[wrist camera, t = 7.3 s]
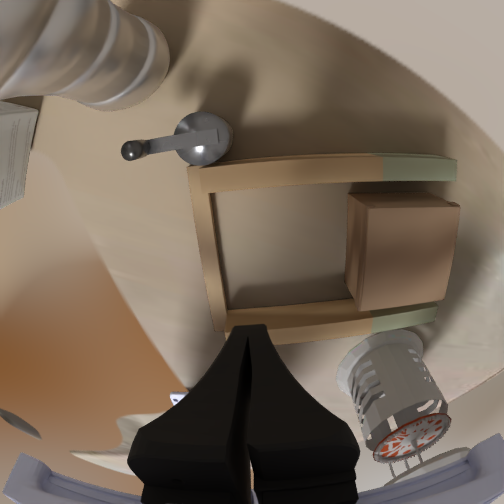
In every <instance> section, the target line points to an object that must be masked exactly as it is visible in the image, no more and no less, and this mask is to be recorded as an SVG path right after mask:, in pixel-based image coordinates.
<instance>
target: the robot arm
mask: <svg viewBox="0 0 504 504" xmlns="http://www.w3.org/2000/svg"><path fill="white" fill-rule="evenodd" d="M170 398H171V400H172V403H173V405H174V406H173V407H172V408H170V409H169V410H168V411H167V412H165V413H164V414H163V415H161V416H160V417H158V418H157V419H155V420H153V421H152V422H150V423H148V424H147V425H145V426H143V427H141V428H139V430H138V432H137V434H136V436H135V438H134V441H133V443H132V446H131V449H130V453H129V456H128V459H127V464H128V466H129V467H130V469H131V470H132V471H133V472H134V473H135V475H136V476H137V477H138V478H139V479H140V480H141V481H142V482H143V483H144V488H143V492H142V496H138V495H132V494H128V493H123V492H118V491H115V490H111V489H107V488H103V487H99V486H96V485H92V484H89V483H86V482H82V481H79V480H76V479H73V478H70V477H67V476H65V475H62V474H59V473H56V472H54V471H51V469H50V468H49V467H48V466H47V465H46V464H45V463H43V462H42V461H40V460H38V459H36V458H34V457H32V456H29V455H27V454H25V453H20V455H19V457H18V459H17V461H16V463H15V465H14V467H13V469H12V471H11V474H10V476H9V478H8V480H7V483H6V485H5V487H4V489H3V494H4V495H6V496H7V497H8V498H10V499H11V500H12V501H14V502H15V503H17V504H490V503H492V502H493V501H494V500H495V499H497V498H498V497H500V496H501V495H502V494H503V493H504V440H503V438H502V436H501V435H500V433H497V434H495V435H494V436H492V437H490V438H488V439H486V440H484V441H482V442H480V443H479V444H477V445H476V446H474V447H473V448H472V449H471V450H470V451H469V453H468V454H467V456H466V457H463V458H461V459H459V460H457V461H455V462H452V463H450V464H448V465H445V466H443V467H440V468H438V469H435V470H433V471H430V472H427V473H425V474H422V475H419V476H416V477H413V478H410V479H407V480H404V481H401V482H398V483H394V484H391V485H387V486H384V487H380V488H376V489H372V490H368V491H364V492H360V493H357V488H356V483H355V480H356V473H355V469H354V468H355V466H356V463H357V461H358V459H359V456H360V449H359V445H358V443H357V440H356V438H355V436H354V434H353V432H352V431H351V429H350V427H349V426H348V424H347V423H346V422H344V421H343V420H341V419H340V418H338V417H337V416H335V415H334V414H332V413H331V412H330V411H328V410H327V409H326V408H325V407H323V406H322V405H321V404H320V403H319V402H317V401H316V400H315V399H314V398H313V397H312V396H311V395H310V394H309V393H308V392H307V391H306V390H305V389H304V388H303V387H302V386H301V385H300V384H299V383H298V381H297V380H296V379H295V378H294V377H293V375H292V374H291V373H290V371H289V370H288V369H287V367H286V366H285V364H284V363H283V361H282V360H281V358H280V356H279V355H278V353H277V351H276V349H275V347H274V345H273V343H272V341H271V339H270V336H269V334H268V330H267V326H266V325H265V324H254V325H239V326H234V327H233V328H232V330H231V332H230V335H229V337H228V339H227V341H226V343H225V344H224V346H223V348H222V350H221V351H220V353H219V355H218V356H217V358H216V359H215V361H214V362H213V364H212V365H211V367H210V368H209V369H208V371H207V372H206V373H205V375H204V376H203V377H202V378H201V380H200V381H199V382H198V383H197V384H196V385H195V386H194V388H193V389H192V390H191V391H190V392H171V393H170ZM250 460H251V465H252V469H253V473H254V489H251V474H250V473H251V472H250Z"/></svg>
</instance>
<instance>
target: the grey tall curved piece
mask: <svg viewBox="0 0 504 504" xmlns="http://www.w3.org/2000/svg"><path fill="white" fill-rule="evenodd" d="M422 356H423V342H422V341H421V339H420V338H419V337H418V336H417V334H416V333H413V332H410V331H407V330H404V329H398V330H389V331H383V332H381V333H379V334H376V335H374V336H371V337H369V338H367V339H365V340H364V341H362V342H361V343H360V344H358V345H357V346H356V347H354V348H353V349H352V350H350V351H349V353H348V354H347V355H346V357H345V358H344V359H343V361H342V362H341V363H340V365H339V368H338V372H337V376H336V381H337V383H338V386H339V389H340V390H341V391H343V392H344V393H346V394H347V395H348V396H351V397H352V400H353V403H355V404H356V407H355V405H354V407H355V410H356V413H359V417H358V414H357V417H358V420H359V422H360V426H361V423H362V424H363V427H361V430H362V433H363V438H364V441H365V444H366V447H367V448H369V449H370V450H371V451H374V452H373V458H374V460H375V461H377V462H380V463H383V464H384V463H389V466H390V470H391V473H392V476H393V477H394V479H392V480H391V481H389V482H388V483H386V484H385V485H384V486H387V485H391V484H394V483H398V482H401V481H404V480H407V479H410V478H413V477H416V476H419V475H422V474H425V473H427V472H430V471H433V470H435V469H438V468H440V467H443V466H445V465H448V464H450V463H452V462H455V461H457V460H459V459H461V458H463V457H466V456H467V454H468V453H469V451H470V450H471V449H470V448H467V447H463V448H456V449H453V450H450V451H447V452H445V453H442V454H439V455H437V456H435V457H433V458H431V459H429V460H426V461H424V462H423V461H422V458H421V455H420V453H421V452H422V451H425V449H426V450H427V449H428V447H429V448H430V447H431V445H434V444H436V442H438V441H439V439H441V438H442V437H443V435H444V434H445V433H446V431H448V428H449V427H450V423H451V418H450V417H449V416H448V415H447V408H448V404H447V402H446V401H445V399H444V397H443V395H442V393H441V391H440V390H439V388H438V387H437V385H436V383H435V381H434V379H433V377H432V376H431V375H430V373H429V371H427V370H428V369H427V368H426V365H425V364H424V362H423V361H422ZM422 362H423V363H422ZM424 367H425V370H426V371H424ZM424 377H426V380H425V379H424ZM429 377H430V379H431V382H429ZM432 379H433V380H432ZM433 381H434V382H433ZM380 397H381V398H380ZM434 399H435V400H434ZM429 400H434V403H433V404H432V405H431V406H429V407H428V408H427V409H426V410H423V411H421V412H418V410H417V408H419V407H421V406H423V405H425V404H426V403H427V402H428V401H429ZM439 400H442V404H441V407H440V410H439V413H433V414H429V413H431V412H432V411H433V410H434V409H435V408H436V407H437V404H438V401H439ZM359 405H361V407H360V409H358V407H359ZM362 414H365V416H364V419H362ZM392 415H393V416H394V419H395V421H396V424H397V427H398V429H396V430H394V431H393V432H391V429H390V426H389V423H388V421H387V418H389V417H390V416H392ZM369 434H371V437H372V439H370V440H367V438H368V436H369ZM416 454H417V455H418V457H419V460H420V464H418V465H416V466H414V467H413V468H411V469H410V468H409V465H408V463H407V460H406V459H408V458H409V457H412V456H414V457H415V455H416ZM399 460H400V461H402V460H404V462H405V465H406V468H407V471H405V472H404V473H402V474H400V475H398V476H397V477H396V476H395V474H394V471H393V469H392V465H391V463H393V462H394V463H395V462H396V461H397V462H398V461H399ZM384 486H383V487H384Z"/></svg>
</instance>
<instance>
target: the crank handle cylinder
mask: <svg viewBox="0 0 504 504" xmlns="http://www.w3.org/2000/svg"><path fill="white" fill-rule="evenodd" d="M232 143H233V131H232V128H231V126H230V125H229V123H228V122H227V121H226V120H224V119H223V118H221V117H219V116H216V115H214V114H212V113H209V112H195V113H192V114H189V115H187V116H186V117H184V118H183V119H182V120H181V121H180V122H179V124H178V125H177V127H176V129H175V132H174V135H172V136H166V137H161V138H155V139H150V140H133V141H127V142H126V143H124V144H123V146H122V148H121V154H122V156H123V158H124V159H125V160H128V161H132V160H135V159H139V158H143V157H145V156H147V155H149V154H154V153H160V152H165V151H171V150H176V151H177V153H178V155H179V156H180V157H181V158H182V159H183V160H184V161H186V162H187V163H190V164H192V165H197V166H203V165H208V164H211V163H213V162H215V161H216V160H218V159H219V158H220V157H222V156H223V155H224V154H226V153H227V152H228V151H229V149H230V148H231V146H232Z"/></svg>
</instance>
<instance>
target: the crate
mask: <svg viewBox="0 0 504 504" xmlns="http://www.w3.org/2000/svg"><path fill="white" fill-rule="evenodd" d="M459 215H460V205H459V204H457V203H455V202H448V201H446V200H444V199H442V198H440V197H437V196H435V195H433V194H431V193H348V214H347V245H346V264H345V280H344V282H345V284H346V285H347V287H348V289H349V291H350V293H351V295H352V297H353V298H354V300H355V306H356V308H357V310H358V311H360V312H361V311H369V310H377V309H385V308H392V307H399V306H406V305H413V304H420V303H426V302H432V301H438V300H444V298H445V293H446V289H447V285H448V280H449V276H450V271H451V266H452V261H453V256H454V250H455V244H456V238H457V231H458V223H459Z"/></svg>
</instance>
